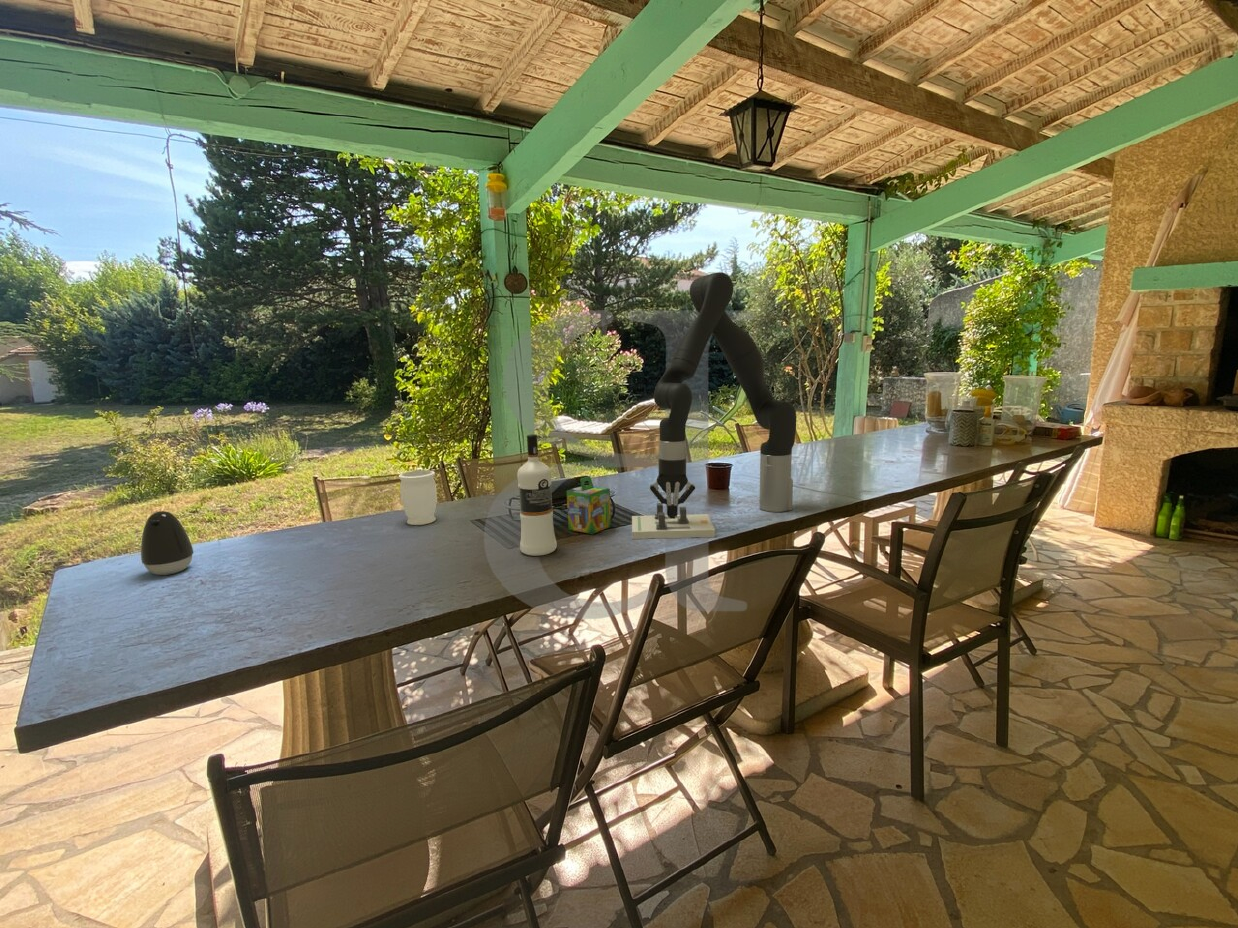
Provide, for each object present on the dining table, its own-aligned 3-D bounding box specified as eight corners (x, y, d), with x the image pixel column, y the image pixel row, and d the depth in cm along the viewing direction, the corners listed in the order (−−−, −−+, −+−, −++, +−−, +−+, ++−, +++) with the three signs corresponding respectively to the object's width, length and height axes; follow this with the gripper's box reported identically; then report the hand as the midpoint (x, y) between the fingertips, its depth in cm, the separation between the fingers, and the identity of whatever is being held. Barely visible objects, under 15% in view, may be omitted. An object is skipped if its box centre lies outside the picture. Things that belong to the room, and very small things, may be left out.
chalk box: (592, 535, 166) (589, 482, 163) (567, 530, 172) (564, 479, 169) (612, 526, 174) (611, 476, 171) (588, 522, 179) (586, 472, 176)
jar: (432, 526, 179) (428, 476, 176) (398, 527, 180) (392, 477, 177) (443, 516, 190) (439, 469, 187) (410, 517, 190) (406, 470, 187)
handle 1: (664, 514, 175) (664, 502, 175) (665, 518, 172) (664, 505, 171) (654, 515, 175) (654, 502, 175) (655, 518, 172) (655, 505, 171)
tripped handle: (687, 519, 170) (687, 506, 169) (688, 522, 167) (688, 509, 166) (677, 519, 170) (677, 506, 170) (678, 522, 167) (678, 510, 166)
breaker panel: (707, 520, 176) (707, 513, 176) (715, 537, 162) (715, 529, 161) (632, 522, 177) (631, 515, 176) (632, 539, 162) (632, 531, 162)
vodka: (546, 542, 162) (540, 430, 156) (563, 551, 154) (557, 434, 148) (514, 549, 157) (506, 434, 151) (530, 559, 149) (522, 438, 143)
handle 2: (666, 525, 165) (666, 512, 165) (667, 528, 162) (667, 515, 162) (656, 525, 166) (656, 512, 165) (656, 528, 162) (656, 515, 162)
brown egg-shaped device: (135, 581, 142) (123, 519, 139) (156, 566, 152) (144, 508, 149) (185, 576, 145) (174, 514, 142) (202, 561, 155) (192, 504, 152)
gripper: (695, 453, 169) (694, 514, 172) (647, 454, 169) (647, 514, 172) (698, 458, 161) (697, 521, 165) (648, 459, 162) (648, 521, 165)
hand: (672, 517), depth 169 cm, fingers closed
